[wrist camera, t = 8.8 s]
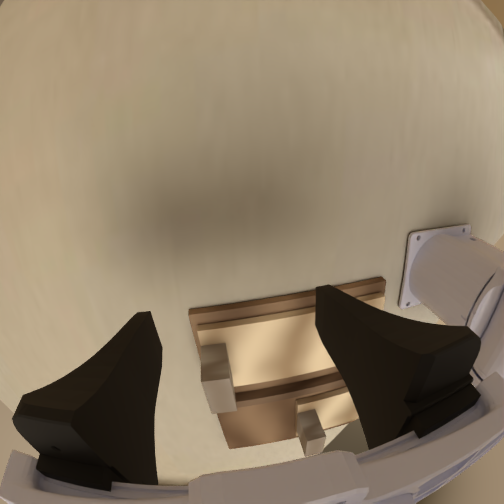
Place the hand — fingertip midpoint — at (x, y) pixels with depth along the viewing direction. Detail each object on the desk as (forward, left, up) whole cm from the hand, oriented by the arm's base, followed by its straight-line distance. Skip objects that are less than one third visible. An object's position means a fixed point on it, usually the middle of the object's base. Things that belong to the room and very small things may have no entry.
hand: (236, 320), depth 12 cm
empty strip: (-5, +10, -8) cm, 14 cm away
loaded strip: (-13, +22, -8) cm, 27 cm away
